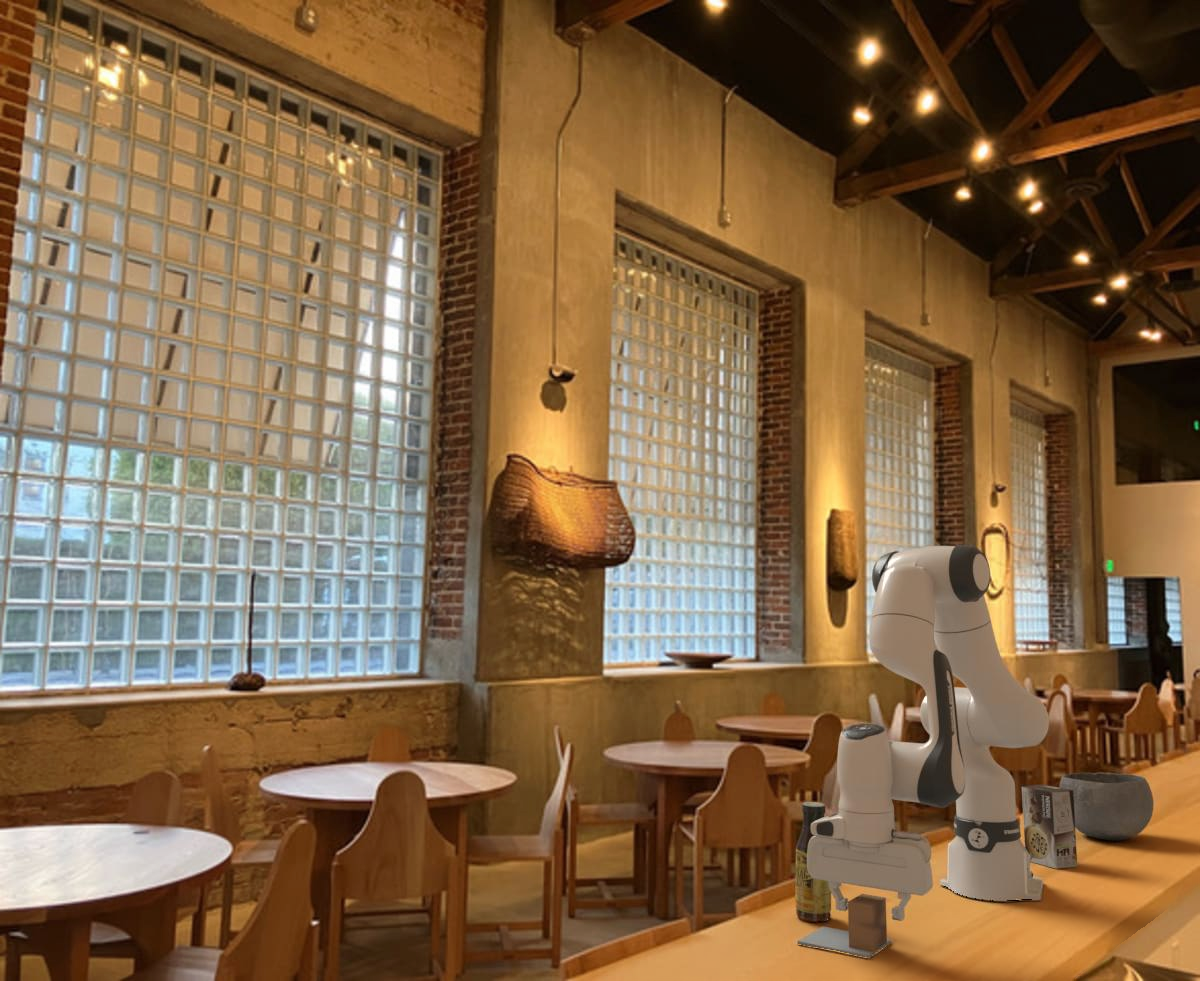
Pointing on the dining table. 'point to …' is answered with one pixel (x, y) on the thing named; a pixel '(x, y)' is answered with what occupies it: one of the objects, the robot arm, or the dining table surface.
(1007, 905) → the dining table surface
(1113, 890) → the dining table surface
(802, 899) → the sauce bottle
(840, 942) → the mat
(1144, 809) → the bowl
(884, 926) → the walnut block
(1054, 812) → the coffee box
